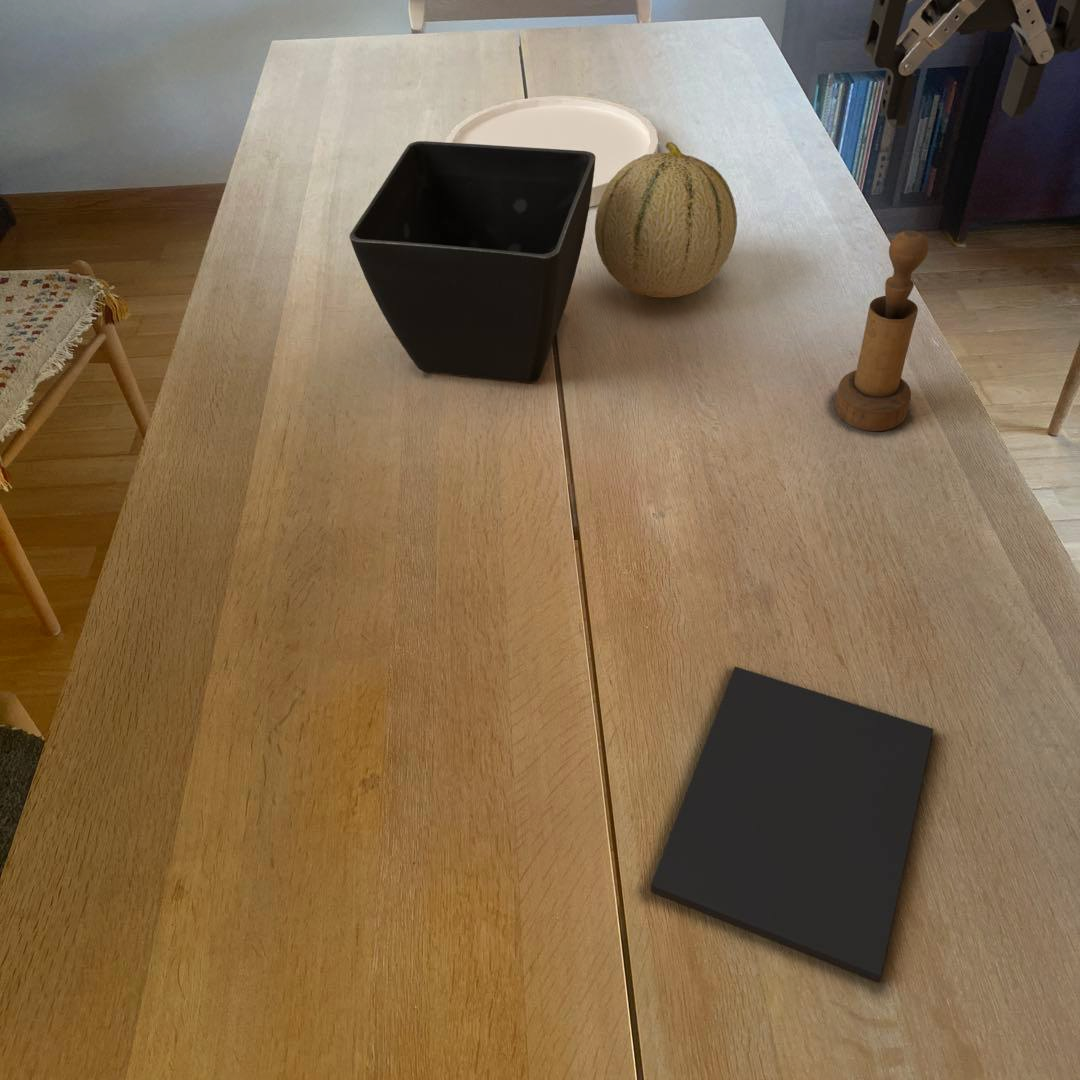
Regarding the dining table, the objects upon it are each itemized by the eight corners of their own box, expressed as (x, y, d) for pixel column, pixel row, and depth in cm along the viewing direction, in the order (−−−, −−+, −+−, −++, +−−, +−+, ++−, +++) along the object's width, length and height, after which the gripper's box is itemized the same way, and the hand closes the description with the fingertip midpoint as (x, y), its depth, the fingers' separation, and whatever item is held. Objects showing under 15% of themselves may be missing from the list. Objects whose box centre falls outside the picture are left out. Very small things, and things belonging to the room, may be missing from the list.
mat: (930, 736, 69) (933, 728, 68) (877, 982, 58) (881, 976, 57) (733, 674, 73) (734, 665, 73) (650, 891, 62) (650, 884, 62)
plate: (407, 193, 127) (405, 174, 125) (498, 103, 144) (496, 85, 143) (615, 227, 119) (615, 207, 117) (684, 127, 136) (685, 109, 134)
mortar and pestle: (822, 394, 95) (856, 220, 82) (885, 381, 96) (928, 208, 83) (854, 437, 91) (894, 261, 78) (919, 424, 91) (970, 247, 78)
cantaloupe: (609, 334, 104) (609, 199, 93) (584, 261, 114) (581, 131, 103) (748, 316, 105) (764, 180, 94) (710, 245, 115) (721, 115, 104)
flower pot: (563, 410, 95) (556, 252, 83) (376, 391, 99) (344, 237, 87) (598, 300, 108) (597, 149, 96) (432, 287, 112) (410, 140, 99)
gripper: (927, -125, 57) (872, 150, 69) (1171, -145, 57) (1074, 132, 69) (884, -157, 62) (839, 104, 74) (1108, -175, 62) (1028, 88, 74)
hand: (953, 118), depth 71 cm, fingers open, 8 cm apart
